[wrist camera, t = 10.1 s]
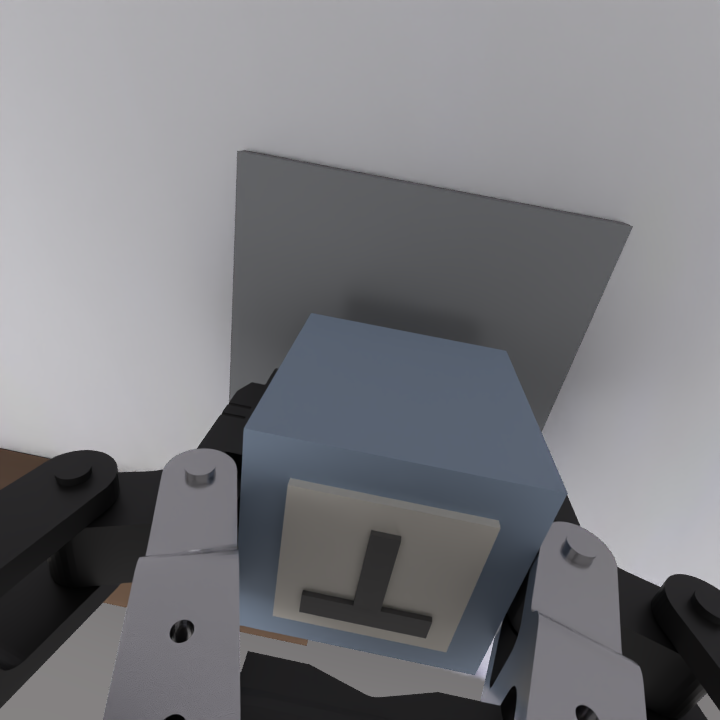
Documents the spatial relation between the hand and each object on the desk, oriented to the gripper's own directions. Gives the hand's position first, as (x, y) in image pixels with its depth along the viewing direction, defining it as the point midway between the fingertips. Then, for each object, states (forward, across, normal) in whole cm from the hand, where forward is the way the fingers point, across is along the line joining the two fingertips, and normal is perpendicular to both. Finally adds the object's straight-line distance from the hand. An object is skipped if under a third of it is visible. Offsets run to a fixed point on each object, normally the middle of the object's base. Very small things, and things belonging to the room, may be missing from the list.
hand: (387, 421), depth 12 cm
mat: (+4, 0, 0) cm, 4 cm away
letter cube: (0, 0, 0) cm, 0 cm away
